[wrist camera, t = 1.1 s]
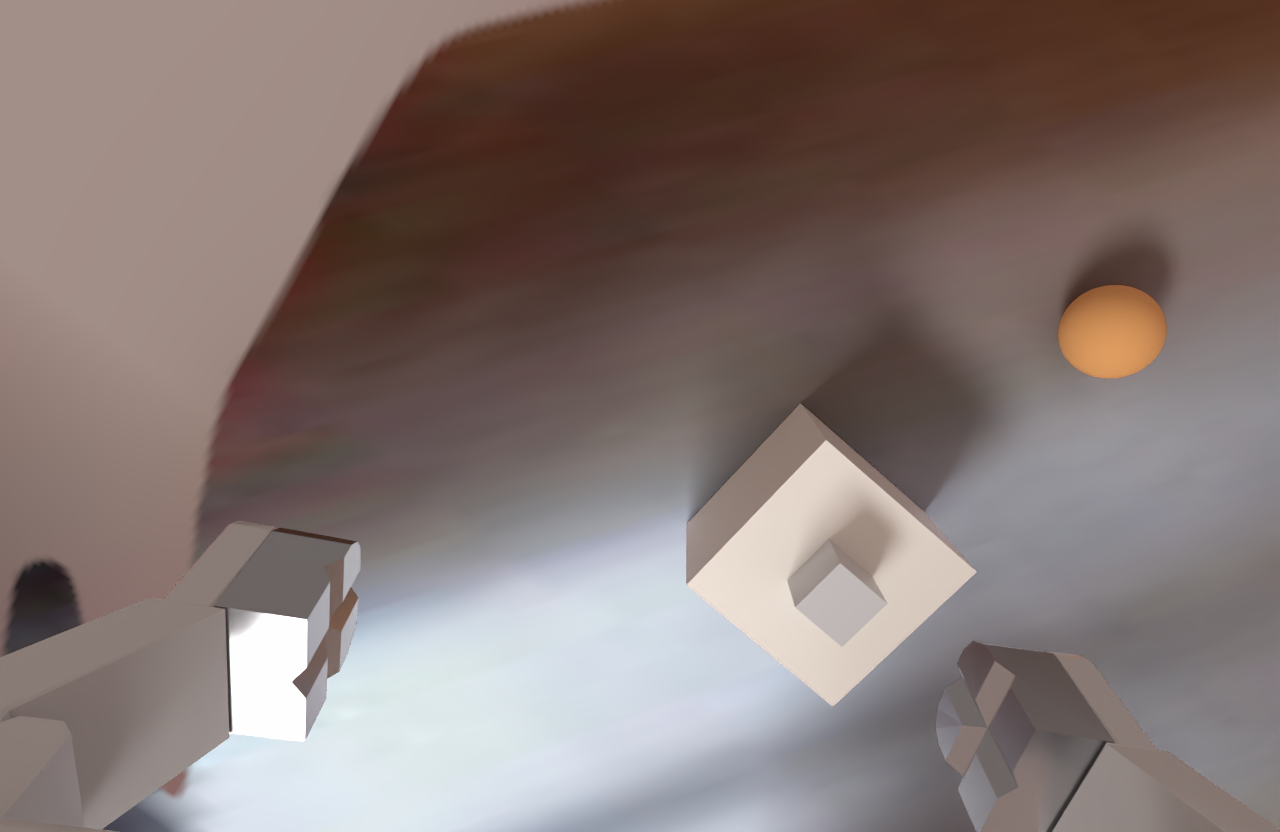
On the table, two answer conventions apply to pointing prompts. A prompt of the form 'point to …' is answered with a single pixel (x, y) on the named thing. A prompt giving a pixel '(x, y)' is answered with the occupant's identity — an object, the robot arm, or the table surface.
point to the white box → (819, 557)
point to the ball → (1112, 331)
